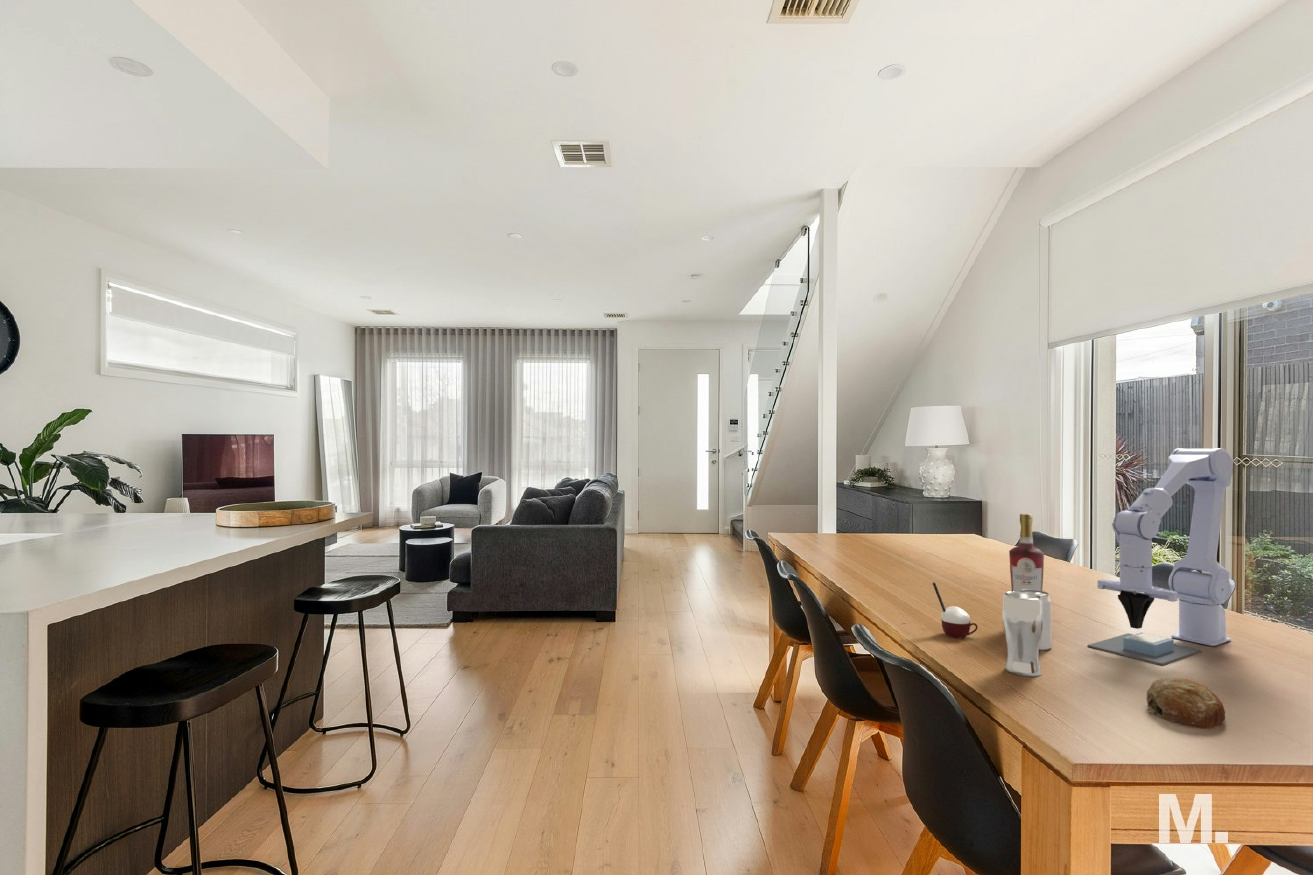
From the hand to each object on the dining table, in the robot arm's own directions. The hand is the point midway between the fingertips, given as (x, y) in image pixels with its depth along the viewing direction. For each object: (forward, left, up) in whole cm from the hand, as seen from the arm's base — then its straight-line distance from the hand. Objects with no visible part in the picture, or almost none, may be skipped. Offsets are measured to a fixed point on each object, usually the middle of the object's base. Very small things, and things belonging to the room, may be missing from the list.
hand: (1136, 627), depth 139 cm
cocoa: (+26, -26, -5) cm, 37 cm away
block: (0, -1, -3) cm, 3 cm away
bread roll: (+33, +21, -5) cm, 40 cm away
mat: (-1, +1, -5) cm, 5 cm away
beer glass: (+36, -4, -5) cm, 37 cm away
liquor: (+7, -20, -5) cm, 22 cm away
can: (+18, -12, -5) cm, 22 cm away
